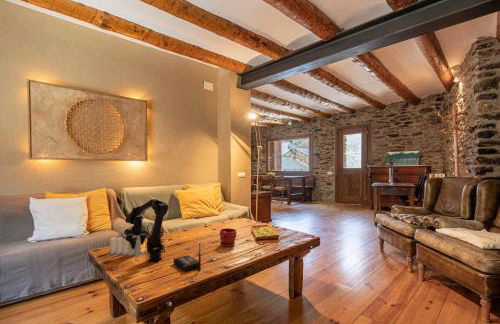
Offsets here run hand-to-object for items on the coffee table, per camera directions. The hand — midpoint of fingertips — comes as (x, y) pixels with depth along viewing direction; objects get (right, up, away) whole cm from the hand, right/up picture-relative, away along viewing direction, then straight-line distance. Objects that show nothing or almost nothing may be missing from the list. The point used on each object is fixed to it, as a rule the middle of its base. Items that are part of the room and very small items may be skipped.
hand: (137, 247), depth 177 cm
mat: (-10, -6, +2) cm, 11 cm away
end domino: (-20, -5, +4) cm, 21 cm away
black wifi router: (+41, -6, -20) cm, 46 cm away
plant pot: (+62, -6, +22) cm, 66 cm away
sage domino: (0, -5, 0) cm, 5 cm away
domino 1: (-15, -5, +3) cm, 16 cm away
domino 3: (-5, -5, +1) cm, 7 cm away
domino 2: (-10, -5, +2) cm, 11 cm away
